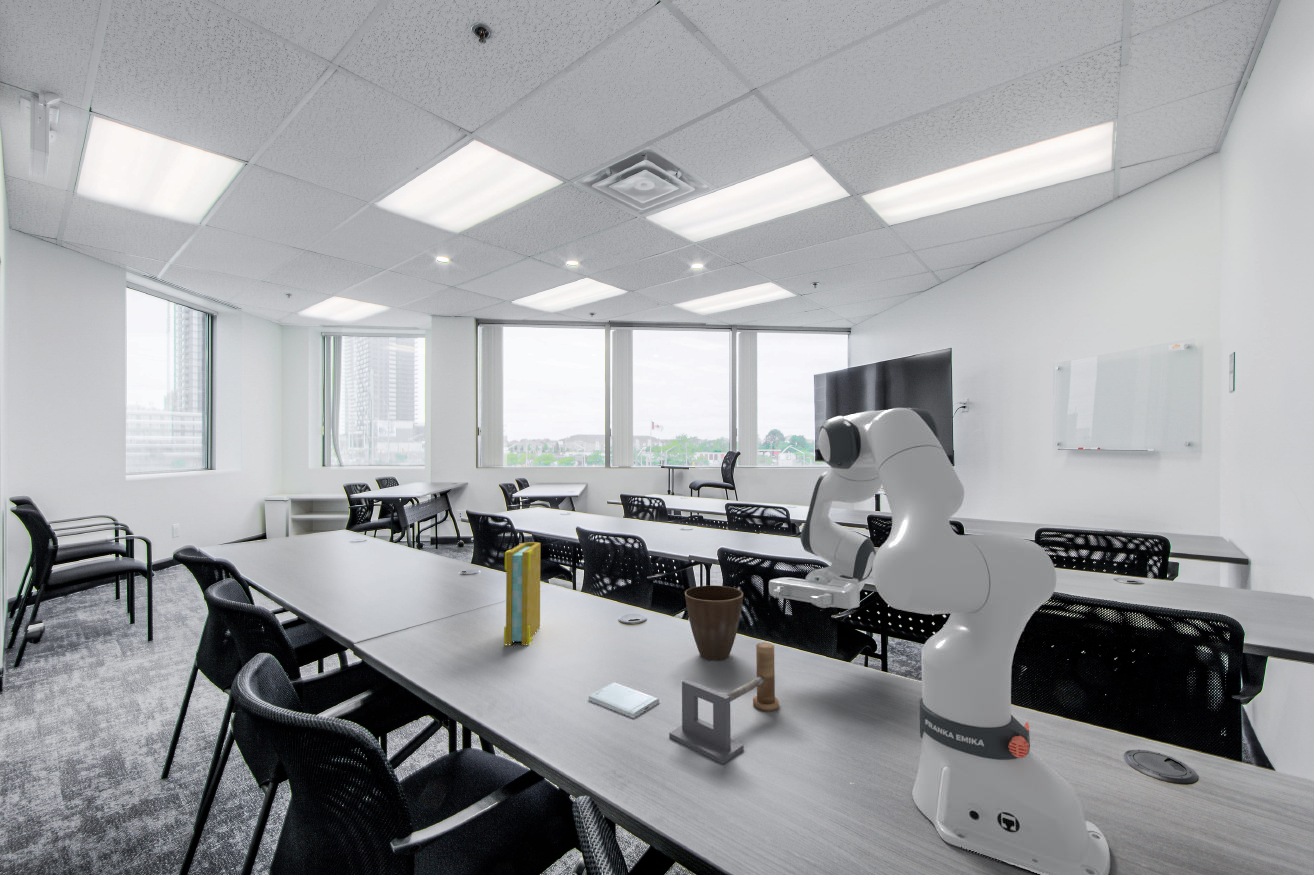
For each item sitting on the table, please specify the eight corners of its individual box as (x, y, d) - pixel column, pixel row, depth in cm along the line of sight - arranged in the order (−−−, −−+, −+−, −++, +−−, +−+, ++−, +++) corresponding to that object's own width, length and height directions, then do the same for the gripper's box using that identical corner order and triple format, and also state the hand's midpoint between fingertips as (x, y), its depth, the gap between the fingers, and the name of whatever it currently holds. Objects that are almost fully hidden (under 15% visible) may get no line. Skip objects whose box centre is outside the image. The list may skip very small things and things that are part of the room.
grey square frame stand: (743, 749, 90) (743, 693, 90) (722, 764, 85) (722, 705, 86) (690, 724, 98) (690, 673, 98) (669, 737, 94) (669, 683, 94)
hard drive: (588, 695, 108) (633, 712, 101) (614, 681, 115) (659, 697, 107) (588, 703, 108) (633, 721, 101) (614, 689, 115) (659, 705, 107)
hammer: (783, 705, 106) (783, 645, 106) (734, 737, 94) (733, 670, 94) (762, 696, 109) (761, 639, 110) (711, 727, 97) (711, 662, 98)
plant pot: (738, 670, 123) (737, 602, 124) (678, 662, 128) (677, 597, 128) (748, 648, 137) (747, 587, 138) (693, 642, 142) (693, 583, 143)
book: (528, 645, 140) (529, 552, 141) (504, 645, 140) (504, 552, 141) (543, 625, 157) (543, 542, 158) (521, 625, 157) (521, 542, 158)
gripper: (785, 569, 132) (754, 577, 122) (865, 579, 118) (838, 589, 108) (785, 594, 132) (755, 604, 122) (866, 608, 118) (839, 620, 108)
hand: (795, 597), depth 115 cm, fingers open, 8 cm apart
